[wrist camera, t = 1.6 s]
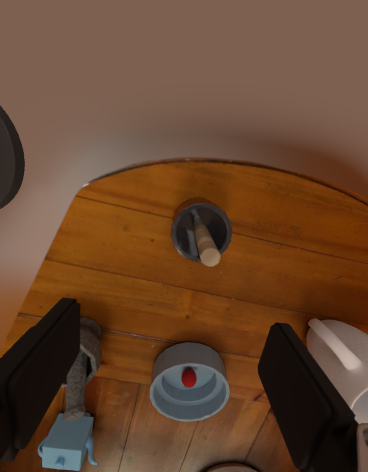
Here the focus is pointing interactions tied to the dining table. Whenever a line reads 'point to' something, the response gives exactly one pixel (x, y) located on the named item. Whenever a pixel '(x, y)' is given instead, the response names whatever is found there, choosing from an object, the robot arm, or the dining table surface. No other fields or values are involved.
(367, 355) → the mug
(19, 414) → the robot arm
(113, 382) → the dining table surface
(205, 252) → the stick
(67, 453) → the teapot
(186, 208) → the holder
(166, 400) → the mixing bowl
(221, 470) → the planter
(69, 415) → the mortar and pestle
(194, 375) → the berry
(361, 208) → the dining table surface
